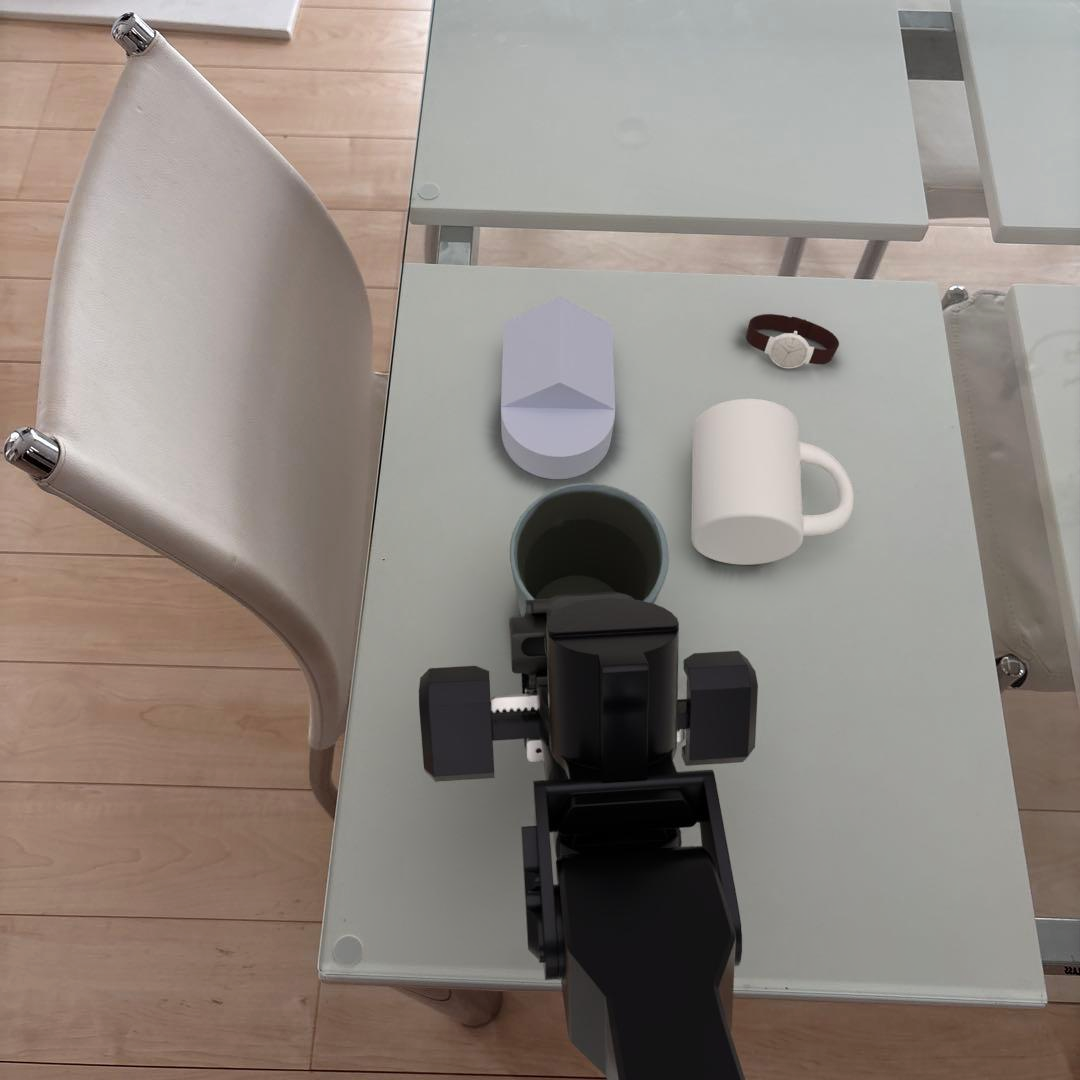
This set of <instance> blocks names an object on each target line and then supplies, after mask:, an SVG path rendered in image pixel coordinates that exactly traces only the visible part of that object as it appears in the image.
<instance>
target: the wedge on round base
mask: <svg viewBox="0 0 1080 1080" xmlns="http://www.w3.org/2000/svg"><path fill="white" fill-rule="evenodd" d="M613 327H614V326H613V324H612V323H611V322H609V321H607V320H605V319H603V318H601V317H600V316H598V315H596V314H594V313H592V312H591V311H589V310H587V309H585V308H584V307H582V306H580V305H578V304H576V303H574V302H572V301H570V300H569V299H567V298H565V297H563V296H562V295H558V296H556V297H554V298H552V299H550V300H547V301H545V302H543V303H541V304H539V305H536V306H534V307H532V308H530V309H529V310H527V311H524V312H522V313H520V314H518V315H516V316H513V317H512V318H510V319H508V320H506V321H503V330H502V331H503V333H502V339H503V340H502V361H501V362H502V365H501V391H500V393H501V395H500V398H501V399H500V424H501V425H500V426H501V427H500V428H501V430H500V431H501V432H500V433H501V439H502V444H503V447H504V450H505V451H506V454H507V455H508V457H509V458H510V459H511V460H512V461H513V462H514V463H515V464H516V465H517V466H518V467H519V468H521V469H522V470H523V471H525V472H527V473H529V474H531V475H533V476H535V477H540V478H542V479H548V480H567V479H572V478H577V477H579V476H582V475H584V474H586V473H588V472H590V471H591V470H593V469H594V468H596V467H597V466H598V465H599V464H600V463H601V462H602V461H603V459H604V458H605V457H606V456H607V453H608V452H609V448H610V446H611V443H612V442H611V441H612V437H613V431H614V425H615V419H616V391H615V390H616V388H615V359H614V356H615V355H614V331H613V330H614V328H613Z"/></svg>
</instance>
